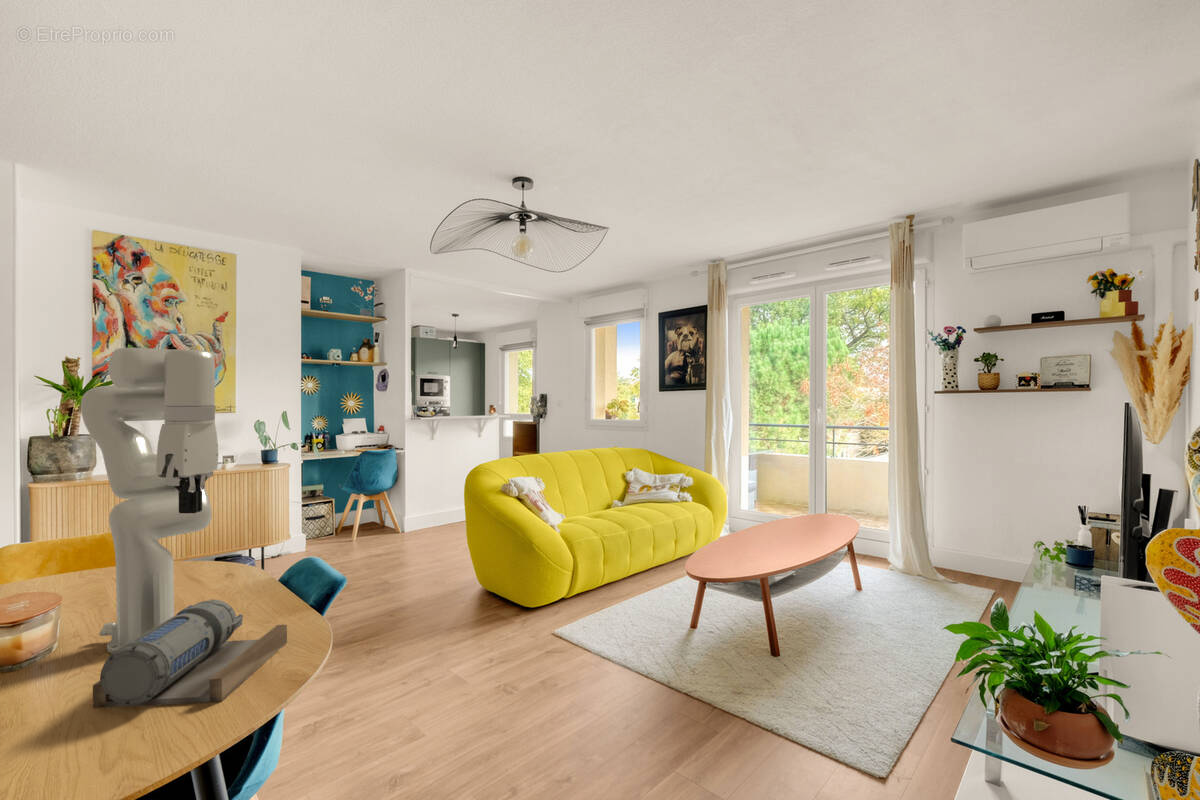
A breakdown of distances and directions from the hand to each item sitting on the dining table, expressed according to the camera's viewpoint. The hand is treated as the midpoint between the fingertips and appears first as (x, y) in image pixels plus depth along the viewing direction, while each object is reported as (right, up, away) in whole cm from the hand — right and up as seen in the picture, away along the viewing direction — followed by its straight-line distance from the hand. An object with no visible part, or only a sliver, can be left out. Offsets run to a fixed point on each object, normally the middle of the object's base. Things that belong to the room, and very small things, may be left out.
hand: (190, 512), depth 100 cm
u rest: (0, -32, +2) cm, 32 cm away
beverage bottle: (-2, -25, -12) cm, 28 cm away
